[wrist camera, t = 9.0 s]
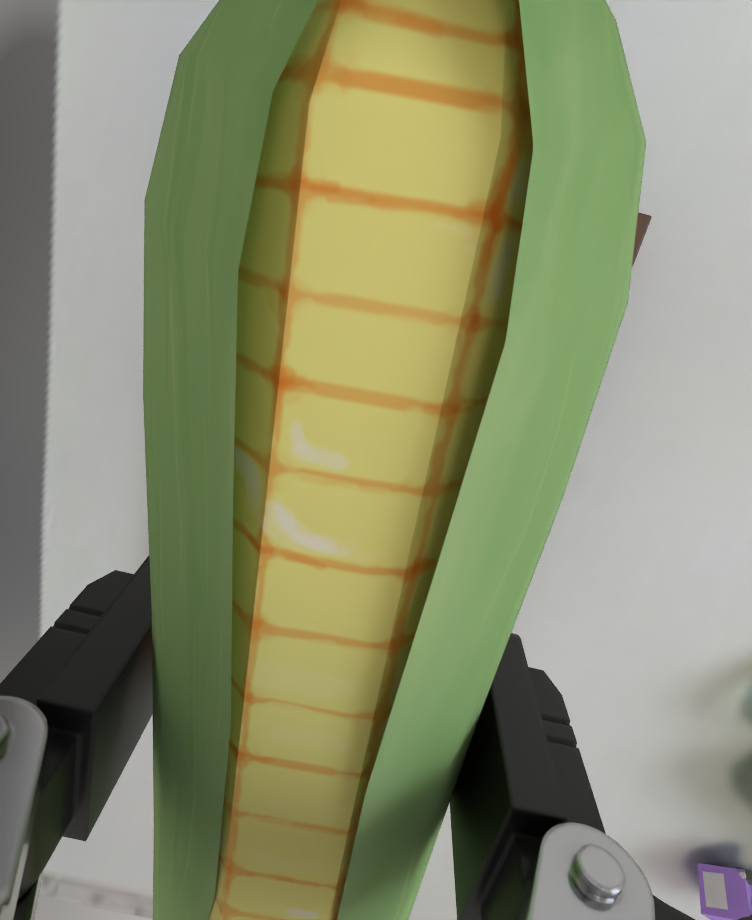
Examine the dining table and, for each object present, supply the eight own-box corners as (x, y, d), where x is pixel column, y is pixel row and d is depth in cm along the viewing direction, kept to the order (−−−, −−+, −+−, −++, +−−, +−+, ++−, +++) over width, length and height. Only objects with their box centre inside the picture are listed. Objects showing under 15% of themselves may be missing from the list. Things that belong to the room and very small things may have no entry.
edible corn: (657, -13, 7) (991, -329, 3) (379, 967, 15) (366, 1266, 11) (238, -91, 7) (-4, -520, 3) (172, 932, 15) (76, 1218, 11)
